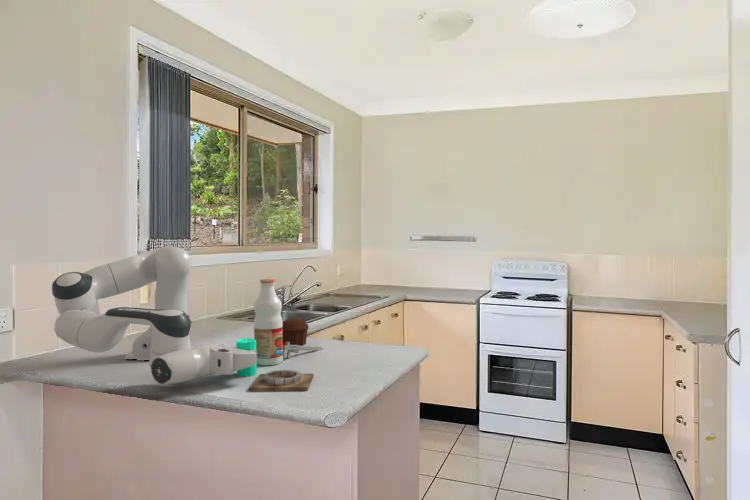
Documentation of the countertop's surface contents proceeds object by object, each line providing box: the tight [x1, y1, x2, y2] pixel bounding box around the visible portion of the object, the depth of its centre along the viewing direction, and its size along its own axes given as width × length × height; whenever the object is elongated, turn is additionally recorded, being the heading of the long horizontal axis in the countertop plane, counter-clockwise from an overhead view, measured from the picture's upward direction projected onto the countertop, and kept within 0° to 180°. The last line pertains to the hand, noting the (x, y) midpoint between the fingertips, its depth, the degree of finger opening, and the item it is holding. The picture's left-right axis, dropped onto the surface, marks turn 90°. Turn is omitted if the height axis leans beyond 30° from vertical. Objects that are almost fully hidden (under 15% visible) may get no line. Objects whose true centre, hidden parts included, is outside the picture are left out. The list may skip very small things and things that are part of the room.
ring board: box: [248, 373, 314, 392], centre depth 150 cm, size 16×14×1 cm
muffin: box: [282, 317, 310, 346], centre depth 204 cm, size 12×11×10 cm
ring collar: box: [264, 369, 302, 386], centre depth 150 cm, size 10×10×2 cm
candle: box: [235, 335, 258, 378], centre depth 161 cm, size 6×6×12 cm
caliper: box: [283, 342, 324, 361], centre depth 187 cm, size 20×1×6 cm, turn 145°
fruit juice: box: [253, 278, 284, 367], centre depth 175 cm, size 9×9×28 cm
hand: (248, 350), depth 162 cm, fingers closed on candle, 5 cm apart
